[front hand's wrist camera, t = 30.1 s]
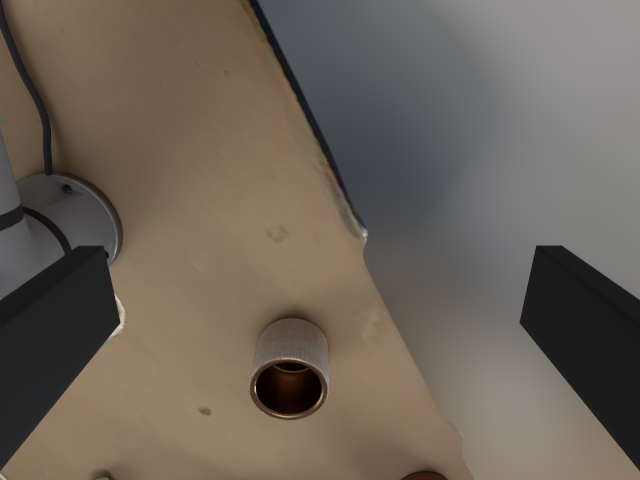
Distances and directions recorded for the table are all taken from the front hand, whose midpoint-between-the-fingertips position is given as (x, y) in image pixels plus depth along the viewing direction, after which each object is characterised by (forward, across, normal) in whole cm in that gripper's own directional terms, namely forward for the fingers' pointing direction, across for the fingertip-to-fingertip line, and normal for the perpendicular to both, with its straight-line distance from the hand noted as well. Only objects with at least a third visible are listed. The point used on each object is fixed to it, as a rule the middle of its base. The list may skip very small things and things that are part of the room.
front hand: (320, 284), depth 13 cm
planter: (+41, +4, +32) cm, 52 cm away
